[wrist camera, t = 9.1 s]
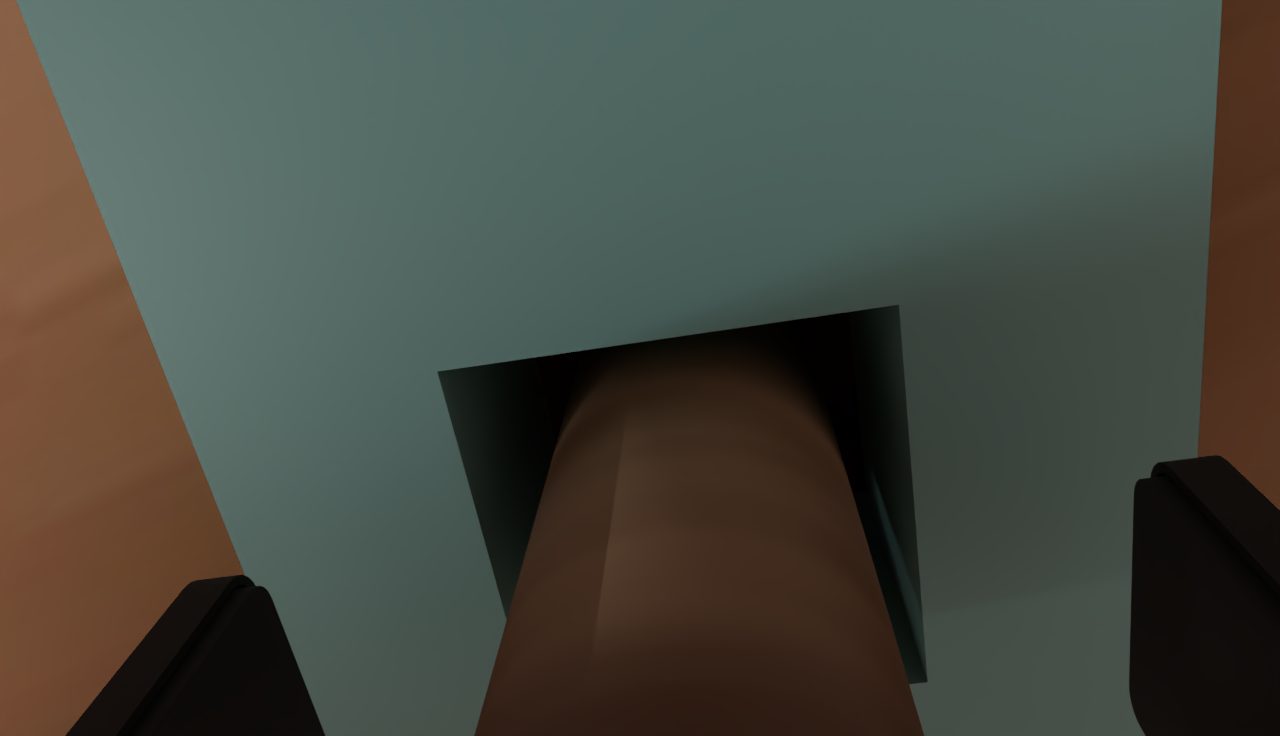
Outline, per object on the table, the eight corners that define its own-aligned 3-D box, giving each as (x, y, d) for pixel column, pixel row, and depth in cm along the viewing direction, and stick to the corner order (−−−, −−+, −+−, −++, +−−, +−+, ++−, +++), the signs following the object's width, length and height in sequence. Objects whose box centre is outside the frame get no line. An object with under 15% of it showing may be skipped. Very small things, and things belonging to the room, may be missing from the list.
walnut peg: (823, 459, 17) (970, 1031, 8) (604, 487, 18) (508, 1060, 9) (798, 246, 16) (943, 652, 7) (559, 282, 16) (385, 710, 7)
